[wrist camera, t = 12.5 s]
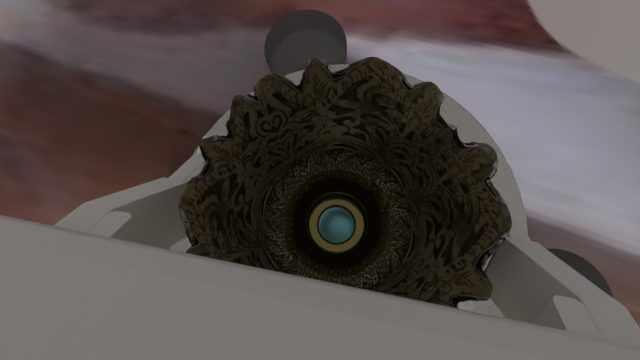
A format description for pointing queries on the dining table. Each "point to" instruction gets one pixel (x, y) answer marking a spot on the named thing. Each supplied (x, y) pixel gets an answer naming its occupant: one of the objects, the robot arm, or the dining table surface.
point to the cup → (349, 186)
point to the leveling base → (330, 46)
